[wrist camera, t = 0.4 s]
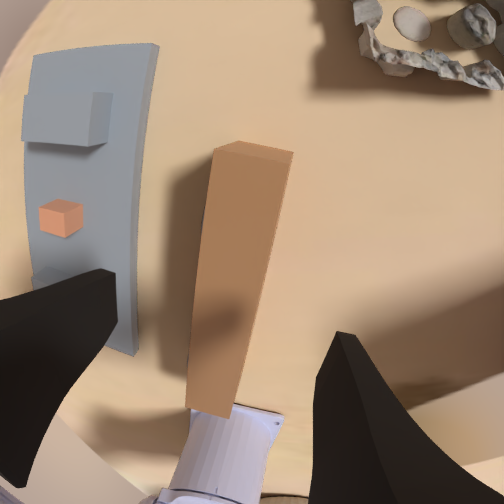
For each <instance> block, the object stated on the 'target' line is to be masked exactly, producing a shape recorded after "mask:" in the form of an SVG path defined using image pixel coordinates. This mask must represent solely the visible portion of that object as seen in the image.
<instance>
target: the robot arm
mask: <svg viewBox="0 0 504 504" xmlns="http://www.w3.org/2000/svg"><path fill="white" fill-rule="evenodd" d="M117 323H118V313H117V295H116V273H115V272H111V271H108V270H105V269H102V268H99V269H95V270H92V271H89V272H85V273H82V274H80V275H77V276H74V277H71V278H68V279H65V280H63V281H60V282H57V283H54V284H52V285H49V286H46V287H43V288H40V289H37V290H34V291H31V292H28V293H24V294H21V295H18V296H15V297H11V298H7V299H3V300H0V476H2V477H3V478H4V479H5V480H7V481H8V482H9V483H10V484H12V485H13V486H14V487H16V488H23V487H26V485H27V480H28V477H29V474H30V471H31V468H32V465H33V462H34V459H35V456H36V454H37V451H38V449H39V447H40V444H41V442H42V439H43V437H44V435H45V433H46V431H47V429H48V427H49V425H50V423H51V420H52V419H53V417H54V415H55V413H56V411H57V410H58V408H59V406H60V404H61V403H62V401H63V399H64V397H65V396H66V394H67V393H68V391H69V390H70V389H71V387H72V386H73V385H74V383H75V382H76V381H77V379H78V378H79V377H80V376H81V374H82V373H83V372H84V370H85V369H86V368H87V367H88V365H89V364H90V363H91V362H92V360H93V359H94V358H95V357H96V355H97V354H98V353H99V351H100V350H101V349H102V348H103V346H104V345H105V343H106V342H107V340H108V338H109V337H110V335H111V333H112V332H113V330H114V328H115V326H116V325H117ZM283 422H284V416H283V415H281V414H277V413H272V412H267V411H263V410H258V409H254V408H249V407H245V406H241V405H237V404H233V408H232V411H231V415H230V419H226V418H222V417H218V416H215V415H211V414H207V413H204V412H200V411H197V410H193V409H191V415H190V428H189V435H188V438H187V441H186V443H185V446H184V449H183V451H182V454H181V456H180V459H179V462H178V464H177V467H176V470H175V472H174V475H173V477H172V480H171V483H170V485H169V488H168V489H165V488H162V489H161V492H160V494H159V497H158V496H155V495H151V496H149V497H148V498H145V499H143V500H142V501H140V503H139V504H259V501H260V496H261V491H262V485H263V480H264V474H265V469H266V463H267V457H268V452H269V450H270V448H271V446H272V444H273V442H274V440H275V438H276V436H277V434H278V432H279V430H280V428H281V426H282V424H283ZM0 504H24V503H22V502H21V501H20V500H18V499H17V498H16V497H14V496H13V495H12V494H10V493H9V492H8V491H7V490H5V489H4V488H3V487H1V486H0ZM308 504H504V496H503V495H502V494H500V493H498V492H497V491H495V490H493V489H492V488H490V487H489V486H487V485H485V484H484V483H482V482H481V481H479V480H478V479H476V478H475V477H473V476H472V475H471V474H470V473H468V472H467V471H466V470H464V469H463V468H462V467H460V466H459V465H458V464H457V463H456V462H454V461H453V460H452V459H451V458H450V457H449V456H448V455H447V454H445V453H444V452H443V451H442V450H441V449H440V448H439V447H438V446H437V445H436V444H435V443H434V442H433V441H432V440H431V439H430V438H429V437H428V436H427V435H426V434H425V433H424V432H423V430H422V429H421V428H420V427H419V426H418V425H417V423H416V422H415V421H414V420H413V419H412V418H411V416H410V415H409V414H408V413H407V411H406V410H405V409H404V407H403V406H402V405H401V403H400V402H399V401H398V399H397V398H396V397H395V395H394V394H393V392H392V391H391V390H390V388H389V387H388V385H387V384H386V382H385V381H384V379H383V378H382V376H381V375H380V373H379V371H378V370H377V368H376V367H375V365H374V364H373V362H372V360H371V359H370V357H369V356H368V354H367V352H366V351H365V349H364V348H363V346H362V344H361V343H360V341H359V340H358V338H357V337H356V335H353V334H348V333H344V332H339V331H337V332H336V334H335V336H334V339H333V341H332V343H331V346H330V348H329V350H328V352H327V355H326V357H325V359H324V361H323V363H322V366H321V368H320V370H319V372H318V374H317V376H316V383H315V391H314V400H313V469H312V480H311V486H310V493H309V499H308Z"/></svg>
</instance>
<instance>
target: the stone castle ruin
mask: <svg viewBox="0 0 504 504" xmlns="http://www.w3.org/2000/svg"><path fill="white" fill-rule="evenodd" d="M350 1H351V2H353V9H354V18H355V25H356V26H358V25H360V24H362V25H363V28H364V31H363V34H362V35H361V36H360V38H359V41H358V43H359V50H360V55H361V56H364V57H367V58H370V59H372V60H374V61H375V62H377V63H378V64H379V66H380V67H381V68H382V70H383V72H384V74H386V75H389V76H400V77H407V75H408V74H411V73H412V72H413V70H414V68H415V67H418V68H425V69H428V70H431V71H435V72H438V76H439V77H440V80H455V81H464V82H465V83H468V84H471V85H474V86H477V87H480V88H486V89H491V90H504V77H503V76H502V73H501V71H500V70H499V69H497V68H496V67H495V66H493V65H492V63H491V62H490V60H483V61H481V62H478V63H474V64H470V65H467V66H464V67H462V66H461V65H460V63H459V62H458V61H452V60H450V59H449V58H448V57H447V56H446V55H445V54H443V53H442V52H440V53H435V51H434V50H433V49H429V50H426V51H424V52H422V54H418V53H415V52H410V51H404V50H397V49H393V48H389V47H386V46H384V45H382V44H381V43H380V42H379V41H378V39H377V38H376V36H375V33H374V30H375V28H376V27H377V26H378V24H379V23H380V21H381V19H382V15H383V11H382V7H381V5H380V4H379V3H378V1H377V0H350ZM485 1H486V2H487V4H488V5H489V6H491V7H492V8H493V9H495V10H496V11H498V12H499V14H500V18H501V22H502V24H500V25H498V26H496V21H495V20H494V18H493V17H492V16H491V15H490V13H489V11H488V10H487V9H486V8H485V7H484V6H482V5H481V4H478V3H475V4H472V5H470V6H467V7H464V8H463V9H461V10H459V11H458V12H456V13H455V14H453V15H452V16H451V17H450V18H449V19H448V20H447V29H448V32H449V35H450V37H451V38H452V39H453V41H454V42H455V43H457V44H458V45H459V46H461V47H462V48H465V49H475V48H478V47H481V46H484V45H488V44H491V43H492V42H494V45H495V47H496V48H497V50H498V51H499V52H500V53H501V54H502V55H503V56H504V0H485ZM393 20H394V24H395V27H396V28H397V29H398V31H399V32H400V34H401V35H402V36H404V37H405V38H407V39H409V40H412V41H415V42H416V41H424V40H426V39H427V38H428V37H429V36H430V33H431V25H430V22H429V20H428V19H427V17H426V16H425V15H424V14H423V13H422V12H421V11H420V10H417V9H415V8H412V7H409V6H404V7H401V8H399V9H398V10H397V11H396V12H395V14H394V16H393Z"/></svg>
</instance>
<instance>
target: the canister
mask: <svg viewBox="0 0 504 504" xmlns="http://www.w3.org/2000/svg"><path fill="white" fill-rule="evenodd" d="M259 504H308V499H306V498H299V497H286V496H284V497H280V496H278V497H265V498H260V501H259Z"/></svg>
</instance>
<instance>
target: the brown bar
mask: <svg viewBox="0 0 504 504" xmlns="http://www.w3.org/2000/svg"><path fill="white" fill-rule="evenodd" d="M293 153H294V152H290V151H286V150H281V149H277V148H272V147H267V146H262V145H257V144H252V143H247V142H242V141H237V142H233V143H230V144H227V145H224V146H221V147H218V148H215V149H214V153H213V159H212V166H211V172H210V179H209V185H208V192H207V199H206V204H205V208H204V213H203V218H202V226H201V243H200V251H199V260H198V268H197V277H196V286H195V295H194V305H193V315H192V325H191V336H190V347H189V354H188V360H187V368H188V372H187V386H186V401H185V407H187V408H190V409H193V410H197V411H200V412H204V413H207V414H211V415H215V416H218V417H222V418H226V419H230V415H231V411H232V408H233V404H234V400H235V397H236V393H237V390H238V386H239V382H240V378H241V375H242V371H243V367H244V363H245V359H246V355H247V351H248V347H249V343H250V339H251V335H252V331H253V326H254V322H255V318H256V314H257V310H258V306H259V302H260V297H261V293H262V289H263V285H264V281H265V276H266V272H267V268H268V264H269V259H270V255H271V251H272V246H273V242H274V238H275V233H276V229H277V225H278V220H279V216H280V211H281V207H282V202H283V198H284V194H285V189H286V185H287V180H288V175H289V171H290V166H291V162H292V157H293Z"/></svg>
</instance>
